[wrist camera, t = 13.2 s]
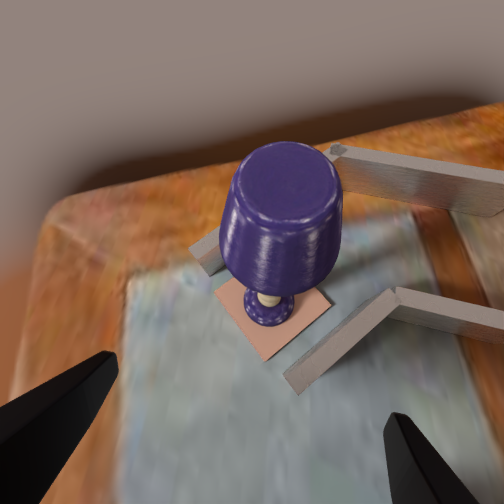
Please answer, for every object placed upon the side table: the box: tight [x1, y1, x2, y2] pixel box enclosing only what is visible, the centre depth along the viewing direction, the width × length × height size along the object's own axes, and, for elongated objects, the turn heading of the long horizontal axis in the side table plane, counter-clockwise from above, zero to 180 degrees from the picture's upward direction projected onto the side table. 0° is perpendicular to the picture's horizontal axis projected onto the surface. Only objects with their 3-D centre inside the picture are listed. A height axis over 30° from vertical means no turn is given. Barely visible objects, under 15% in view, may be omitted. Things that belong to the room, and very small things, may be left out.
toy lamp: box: [219, 141, 343, 327], centre depth 15 cm, size 5×5×17 cm
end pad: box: [214, 277, 331, 361], centre depth 23 cm, size 7×7×1 cm
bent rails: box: [188, 142, 504, 395], centre depth 22 cm, size 18×27×4 cm, turn 102°
